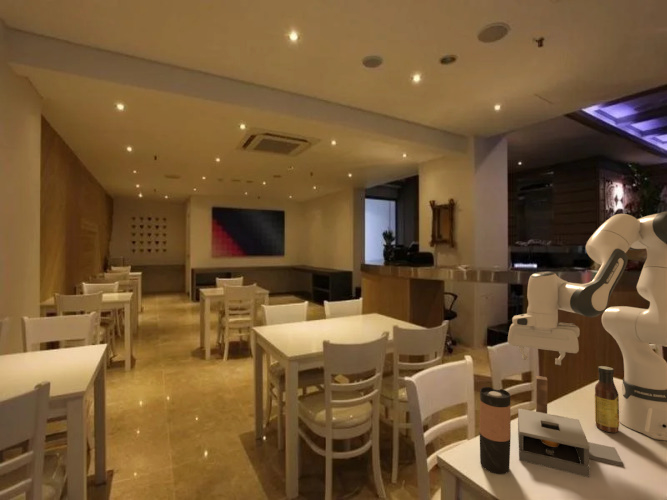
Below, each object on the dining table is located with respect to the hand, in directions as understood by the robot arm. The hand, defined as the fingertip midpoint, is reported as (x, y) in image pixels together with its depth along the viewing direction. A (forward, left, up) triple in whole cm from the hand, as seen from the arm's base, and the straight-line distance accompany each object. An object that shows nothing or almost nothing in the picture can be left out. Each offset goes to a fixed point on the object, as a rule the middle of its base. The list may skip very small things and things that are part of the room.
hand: (541, 362), depth 116 cm
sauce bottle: (-19, -8, -22) cm, 30 cm away
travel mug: (+13, +31, -22) cm, 40 cm away
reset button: (-1, +17, -18) cm, 25 cm away
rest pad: (-14, +11, -21) cm, 28 cm away
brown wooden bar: (0, 0, -21) cm, 21 cm away
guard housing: (-1, +17, -21) cm, 27 cm away
